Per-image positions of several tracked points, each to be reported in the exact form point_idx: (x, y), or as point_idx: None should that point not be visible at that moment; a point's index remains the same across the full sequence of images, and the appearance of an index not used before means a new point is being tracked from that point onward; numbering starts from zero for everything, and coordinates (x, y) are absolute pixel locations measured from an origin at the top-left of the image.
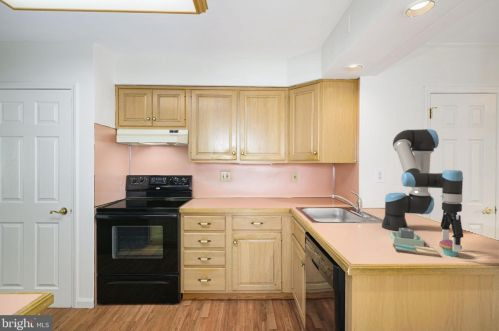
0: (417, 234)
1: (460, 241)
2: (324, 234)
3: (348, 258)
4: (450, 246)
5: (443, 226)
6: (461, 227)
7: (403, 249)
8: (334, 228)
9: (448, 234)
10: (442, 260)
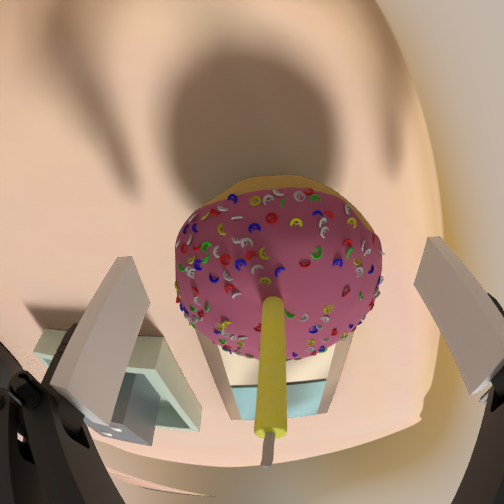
0: (41, 353)
1: (496, 311)
2: (227, 465)
3: (395, 431)
4: (372, 306)
5: (103, 468)
6: None
7: (317, 405)
8: (151, 453)
9: (94, 340)
10: (405, 291)
